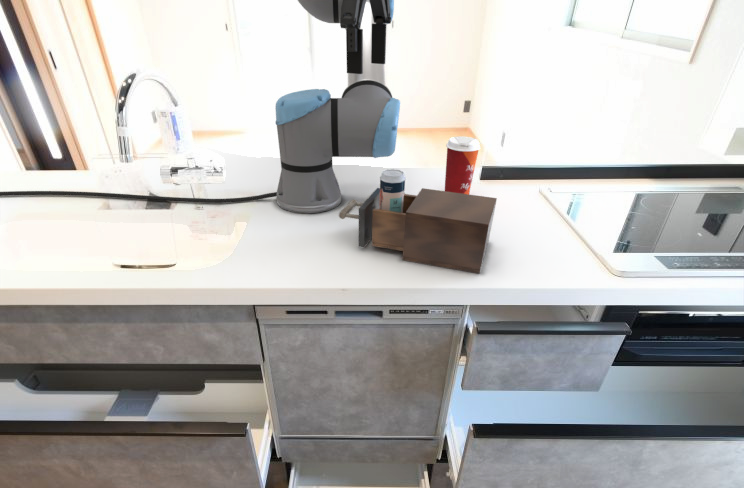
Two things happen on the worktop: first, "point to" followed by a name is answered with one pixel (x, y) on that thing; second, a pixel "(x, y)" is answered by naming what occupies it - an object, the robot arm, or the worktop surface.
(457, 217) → the cabinet
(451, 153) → the paper cup
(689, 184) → the worktop surface
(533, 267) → the worktop surface
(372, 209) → the drawer
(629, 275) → the worktop surface
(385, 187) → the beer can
